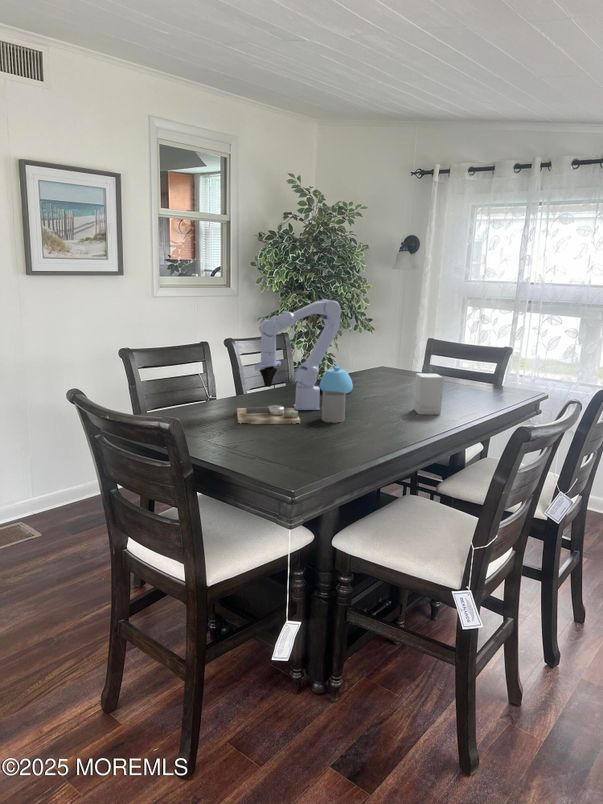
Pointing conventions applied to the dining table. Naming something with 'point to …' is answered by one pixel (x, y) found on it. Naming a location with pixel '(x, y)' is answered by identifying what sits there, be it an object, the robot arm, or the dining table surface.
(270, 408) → the grey spoon
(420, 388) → the supplement box
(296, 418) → the oak board
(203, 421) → the dining table surface
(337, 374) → the sugar bowl
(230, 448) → the dining table surface
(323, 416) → the cup
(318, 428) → the dining table surface
